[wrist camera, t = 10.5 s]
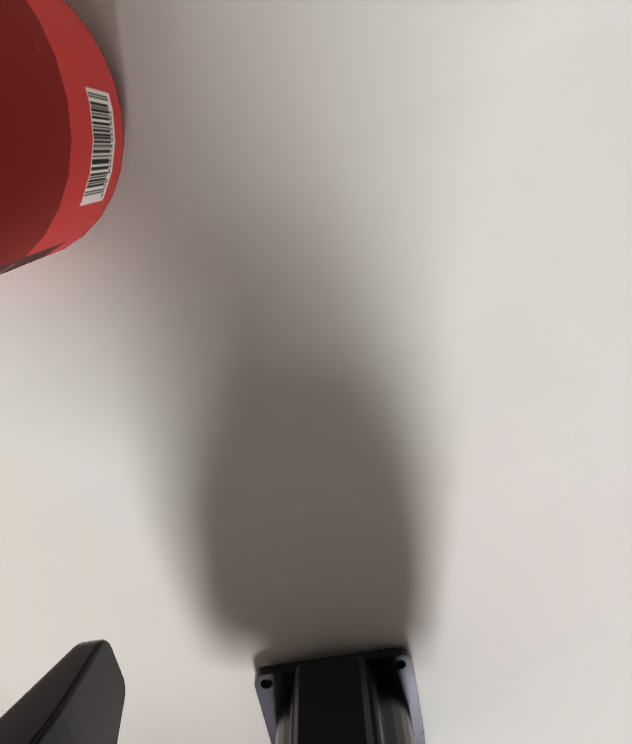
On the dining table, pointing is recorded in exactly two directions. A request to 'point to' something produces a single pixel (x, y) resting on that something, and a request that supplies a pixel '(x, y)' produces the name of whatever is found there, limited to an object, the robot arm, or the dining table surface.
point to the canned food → (53, 130)
